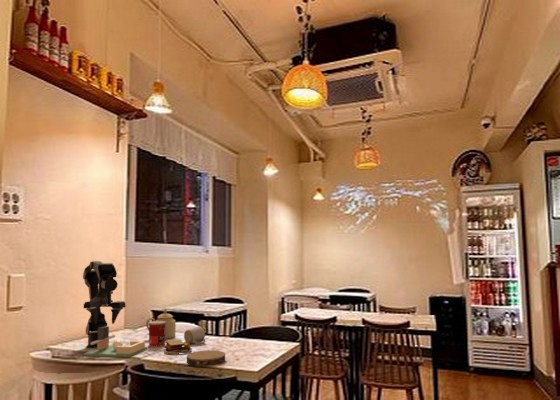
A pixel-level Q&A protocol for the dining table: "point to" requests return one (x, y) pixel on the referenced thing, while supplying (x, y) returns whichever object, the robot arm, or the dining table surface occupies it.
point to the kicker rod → (103, 338)
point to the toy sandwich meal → (176, 347)
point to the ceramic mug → (195, 336)
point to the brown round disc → (206, 358)
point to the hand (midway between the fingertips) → (104, 323)
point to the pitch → (119, 350)
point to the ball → (116, 344)
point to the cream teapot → (166, 324)
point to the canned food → (156, 333)
